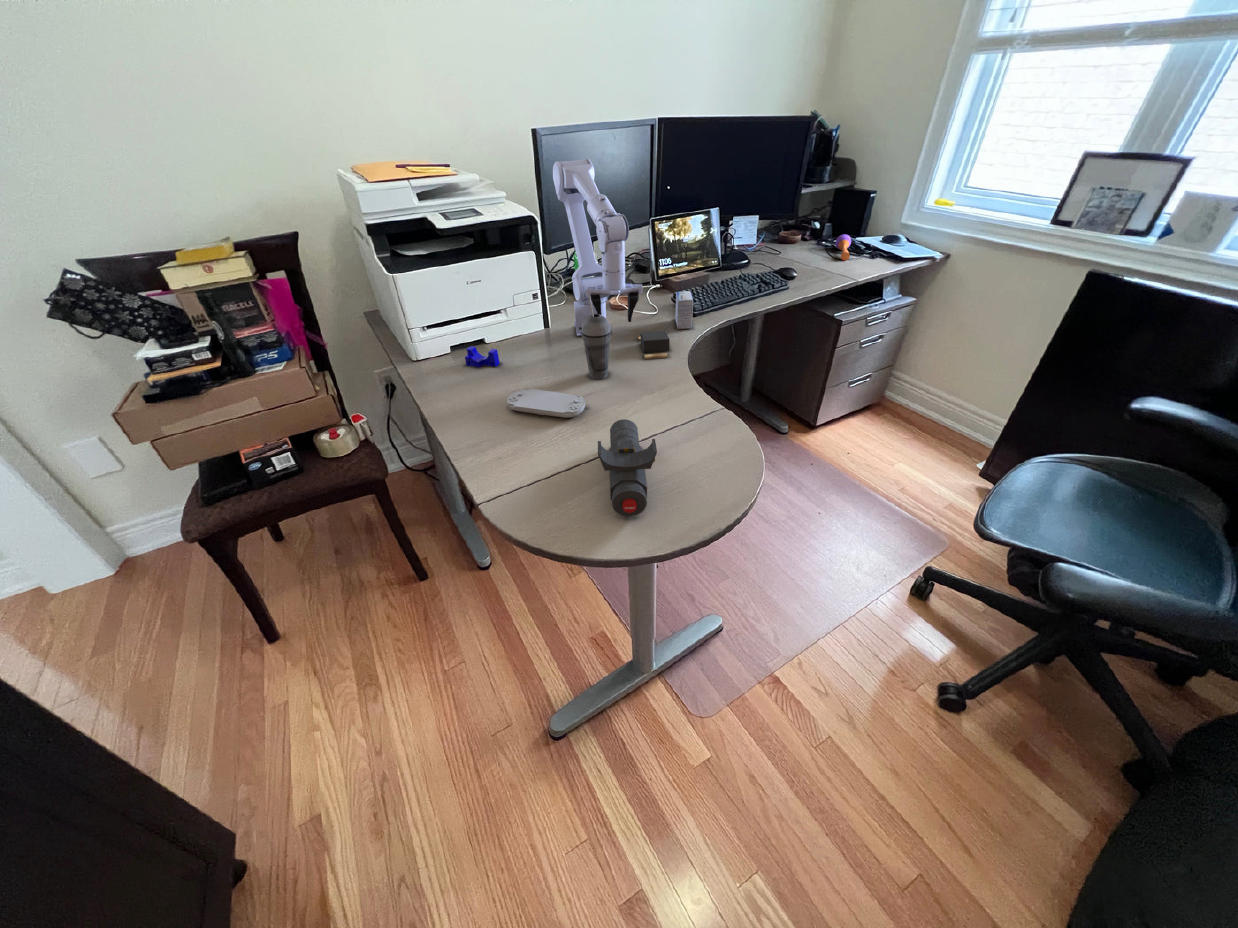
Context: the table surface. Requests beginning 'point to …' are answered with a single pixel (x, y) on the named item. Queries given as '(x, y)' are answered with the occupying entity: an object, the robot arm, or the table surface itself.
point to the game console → (546, 403)
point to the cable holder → (481, 358)
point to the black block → (654, 341)
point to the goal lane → (660, 355)
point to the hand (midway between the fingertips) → (615, 321)
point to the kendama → (843, 246)
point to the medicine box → (684, 310)
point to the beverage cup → (596, 343)
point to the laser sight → (627, 467)
